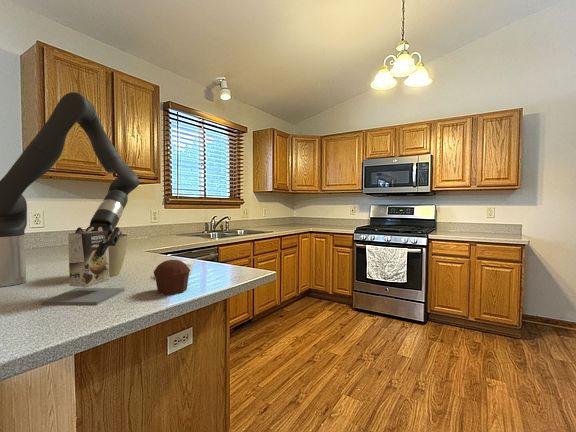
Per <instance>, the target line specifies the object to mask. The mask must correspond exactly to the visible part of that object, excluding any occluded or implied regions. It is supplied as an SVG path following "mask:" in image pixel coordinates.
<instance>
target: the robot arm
mask: <svg viewBox="0 0 576 432" xmlns="http://www.w3.org/2000/svg"><path fill="white" fill-rule="evenodd" d="M76 123H77V124H78V125H79V126H80V128H81V129H82V130H83V131H84V132H85V134H86V136H87V137H88V139H89V141H90V144H91V147H92V149H93V152H94V153H95V156H96V158H97V159H98V161H99V163H100V164H101V166H102V167H103V169H104V171H106V173H110V174H112V173H115V174H117V177H116V178H114V179H113V180H112V182H111V183H110V185H109V187H108V190H107V194H106V195H105V197H104V199H103V201H102V202H101V203H100V204H99V205H98V207H97V209H96V211H95V213H93V216H92V218H91V219H90V222H89V225H88V227H86V228H82V227H77V228H76V230H75V232H74V233H80V232H93V231H108V236H109V235H111V234H112V235H111V237H110V239H109V240H107V238H106V237H105V235H104V236H103V240H102V244H100V246H99V248H98V250H97V252H96V255H97V256H98V257H102V255H104V254H105V252H106V250H107V248H108V247H109V246H115V245H116V243H117V241H118V239H119V237H120V235H121V234H123V233H122V230H121V229H120V227H118V223H119V221H120V219H121V218H122V216H123V212H124V209H125V208H126V206H127V204H128V201H129V198H128V195H129V194H130V193H132V192H133V191H134V190H136V188H138V186H139V184H140V179H139V177H138V175H137V173H135V171H134V170H133V169H132V168H130V166H129V165H128V163H125V162H124V161H123V159H122V157H121V155H120V154H119V152H118V150H117V149H116V147H115V146H114V144H113V143H112V141H111V140H110V138H109V136H108V134H107V133H106V131H105V129H104V127H103V125H102V122H101V120H100V117H99V115H98V112H97V110H96V108H95V106H94V104H93V103H92V102H91V101H90V100H89V99H87V98H86V97H85V96H84V95H82V94H81V93H78V92H74V91H72V92H68V93H67V92H66V94H63V96H62V97H61V98H60V100H59V101H58V102H57V104H56V106H55V107H54V110H53V111H52V113H51V115H50V116H49V118H48V119H47V121H46V122H45V124H44V125H43V126H42V127H41V128H40V130H39V131H38V132H37V134H36V135H35V136H34V138H33V139H32V140H31V141H30V142H29V144H28V145H27V146H26V147H25V149H23V151H22V152H21V154H20V155H19V157H18V158H17V159H16V161H15V162H14V163H13V164H12V166H11V167H10V169H9V170H8V171H7V172H6V174H5V175H4V176H3V177H2V178H1V179H0V287H10V286H16V285H20V284H24V283H26V282H27V263H26V260H27V259H26V238H25V237H26V236H25V230H26V228H27V225H28V204H27V200H26V198H25V196H24V195H23V194H24V192H25V191H26V190H27V188H28V187H30V186H31V185H32V184H33V183H34V182H36V181H38V179H40V178H42V177H43V176H44V175H46V173H48V172H49V171H50V170H51V169H52V168H53V167H54V165H55V164H56V163H57V161H58V160H59V159H60V157H61V156H62V154H63V151H64V146H65V142H66V138H67V136H68V134H69V132H70V130H71V129H72V128H73V127H74V126H75V124H76ZM106 240H107V241H106Z"/></svg>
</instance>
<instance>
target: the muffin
mask: <svg viewBox="0 0 576 432" xmlns="http://www.w3.org/2000/svg"><path fill="white" fill-rule="evenodd" d="M179 260H180V259H168V260H164V261H162V262H160V263H159V264H158V265H156V268H155V269H154V270H153V275H154V278H155V283H156V288H157V289H156V290H157V293H158V294H159V295H165V296H171V295H178V294H182V293H184V292H186V291H187V290H188V283H189V277H190V275H189V272H190V269H189V268H188V266H187V265H186V264H185V263H184V262H182V261H179Z"/></svg>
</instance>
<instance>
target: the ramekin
mask: <svg viewBox="0 0 576 432" xmlns="http://www.w3.org/2000/svg"><path fill="white" fill-rule="evenodd" d="M178 260H179V261H182V262H184V263H185V264H186V265H187V266H188V268H189V269H190V272H189V276H191V275H192V273H193V267H194V261H193V260H190V259H187V260H186V259H181V260H180V259H178Z"/></svg>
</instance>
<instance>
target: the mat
mask: <svg viewBox="0 0 576 432" xmlns="http://www.w3.org/2000/svg"><path fill="white" fill-rule="evenodd" d="M123 292H125V287H122V288H121V287H120V288H119V287H118V288H117V287H76V288H72V289H70V290H67V291H65V292H63V293H60V294H58V295H55V296H52V297H51V298H47V299H45V300H42V301H41V302H40V303H41V305H52V306H53V305H55V306H58V305H60V306H62V305H63V306H64V305H67V306H68V305H69V306H70V305H72V306H73V305H74V306H75V305H76V306H77V305H80V306H81V305H82V306H87V305H88V306H89V305H90V306H91V305H92V306H95V305H97V306H98V305H99V304H101V303H103V302H105V301H107V300H109V299H111V298H113V297H115V296H116V295H117V296H118V295H119V294H120V293H123Z"/></svg>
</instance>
